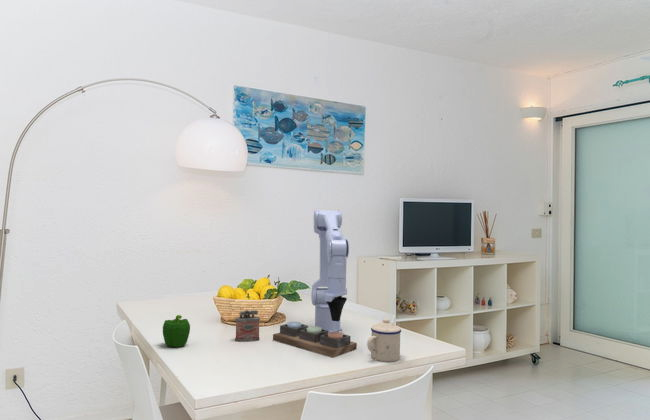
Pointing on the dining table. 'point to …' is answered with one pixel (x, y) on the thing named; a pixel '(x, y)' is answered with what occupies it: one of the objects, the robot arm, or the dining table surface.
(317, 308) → the robot arm
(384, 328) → the teacup with lid
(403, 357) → the dining table surface
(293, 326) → the button slate
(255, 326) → the lighter
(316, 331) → the button sage
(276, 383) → the dining table surface
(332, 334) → the button terracotta
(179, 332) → the bell pepper
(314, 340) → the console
